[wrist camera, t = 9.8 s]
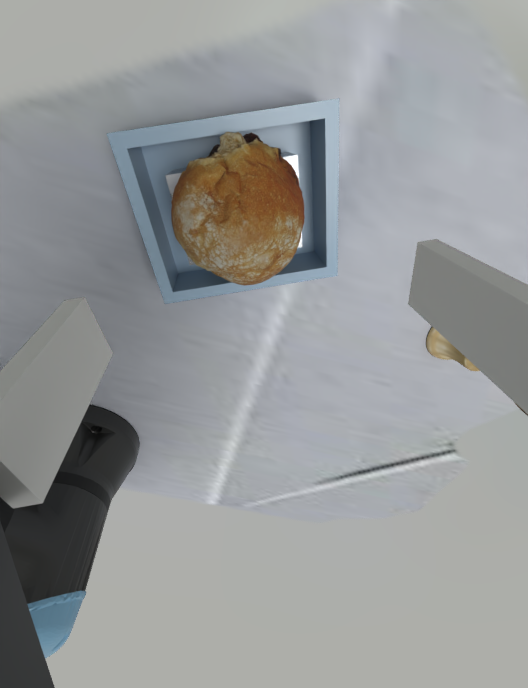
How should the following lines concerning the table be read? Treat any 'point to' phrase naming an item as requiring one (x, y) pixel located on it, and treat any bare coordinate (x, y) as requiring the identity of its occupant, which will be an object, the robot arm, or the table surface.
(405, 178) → the table surface
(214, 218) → the bread roll
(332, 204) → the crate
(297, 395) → the table surface
